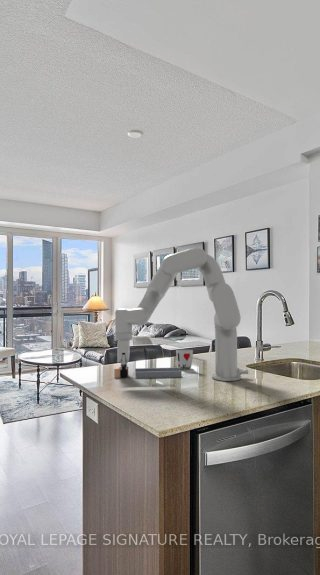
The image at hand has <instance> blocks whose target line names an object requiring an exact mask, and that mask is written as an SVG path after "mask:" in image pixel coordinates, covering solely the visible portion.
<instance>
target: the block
mask: <svg viewBox="0 0 320 575" xmlns="http://www.w3.org/2000/svg"><path fill="white" fill-rule="evenodd" d="M113 370H114V372H113V373H114V374H113V375H114V379H117V378H118V379H119V378H120V370H121V366H114V369H113ZM127 370H128V371H129V366H127ZM120 379H121V378H120Z"/></svg>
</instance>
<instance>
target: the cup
mask: <svg viewBox="0 0 320 575" xmlns="http://www.w3.org/2000/svg"><path fill="white" fill-rule="evenodd" d="M175 353H176V354H175V356H176V363H177V368H178V367H179V371H188V370H191V369H192V363H193V359H194V358H193V356H194V355H193V354H194V351H193V349H176V350H175Z"/></svg>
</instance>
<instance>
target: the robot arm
mask: <svg viewBox="0 0 320 575" xmlns="http://www.w3.org/2000/svg"><path fill="white" fill-rule="evenodd" d="M190 270H198V271H199V272H200V273H201V275H202V277H203V280H204V282H205V283H204V284H205V288H206V291H207V294H208V298H209V300H210V301H211V302H212V304H213V307H214V308H213V309H214V311H215V312H214V317H213V322H214V336H215V337H214V351H215V352H214V354H215V355H214V356H215V359H214V361H215V373H213V374H212V375H211V378H212V379H213V380H216V381H219V382H220V381H221V382H235V381H239V380H241V379H242V376H241V375H249V369H243V368H239V367H238V332H237V330H238V329H237V328H238V326H239V325H240V323H241V313H240V309H239V306H238V303H237V299H236V296H235V293H234V291H233V288H232V287H231V286H230V284H228V283H226V280H225V277H224V275H223V274H224V273H223V271H222V269H221V266H220V264H219V263H218V261H217V260H216V259H215V258H214V257H213V256H211V255H210V254H208V253H206V251H205V250H204V249H203V248H202V247H192V248H189V249H186V250H185V249H184V250H183V251H179V252H176V253H172V254H168V255H166V256H164V258H162V261H161V264H160V266H159V267H158V268H157V270H156V272H155V274H154V276H153V277H152V278H151V280H150V282H149V284H148V286H147V289H146V292H145V293H144V295H143V298H142V299H141V301H140V302H139V304H138V306H137V307H136V308H117V309H115V314H114V315H115V316H114V318H115V320H114V321H115V323H114V325H115V330H114V331H115V334H114V335H115V336H114V337H115V338H114V340H116V341H117V350H116V351H117V358H116V359H117V361H116V362H117V364H120V367H121V370H120V379H128V378H129V369H128V370H127V367H128V363H129V361H130V348H131V347H130V346H131V342H130V341H133V325H135V326H143V325H145V324H147V323H148V321H149V320H151V319H150V318H151V317H152V315H153V314H154V311H155V310H156V308H157V307H158V306H159V304H160V302H161V300H162V299H163V298H164V297H165V296H166V293H167V292H168V290H169V289H170V288H171V286H172V284H173V282H174V281H175V279H176V277H177V275H178V274H179V273H183V272H187V271H190Z"/></svg>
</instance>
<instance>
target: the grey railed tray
mask: <svg viewBox="0 0 320 575" xmlns="http://www.w3.org/2000/svg"><path fill="white" fill-rule="evenodd" d="M134 374H135V379H149V378H151V379H153V378H154V379H155V378H161V379H162V378H182V370H180V369H179V367H178V366H177V367H147V368H146V367H145V368H143V367H142V368H141V367H138V368H135V372H134Z"/></svg>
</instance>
